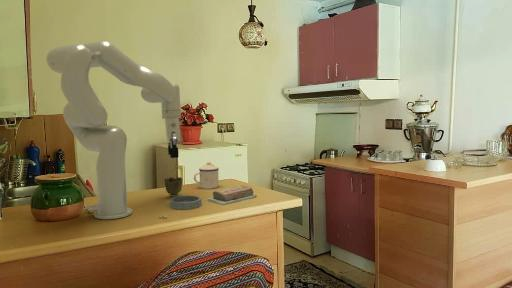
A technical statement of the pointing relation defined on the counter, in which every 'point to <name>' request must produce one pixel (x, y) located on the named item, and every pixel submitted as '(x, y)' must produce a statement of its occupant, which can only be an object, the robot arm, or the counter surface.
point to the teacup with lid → (208, 176)
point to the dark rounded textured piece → (173, 186)
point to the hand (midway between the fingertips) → (173, 156)
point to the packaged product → (232, 195)
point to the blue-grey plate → (185, 202)
